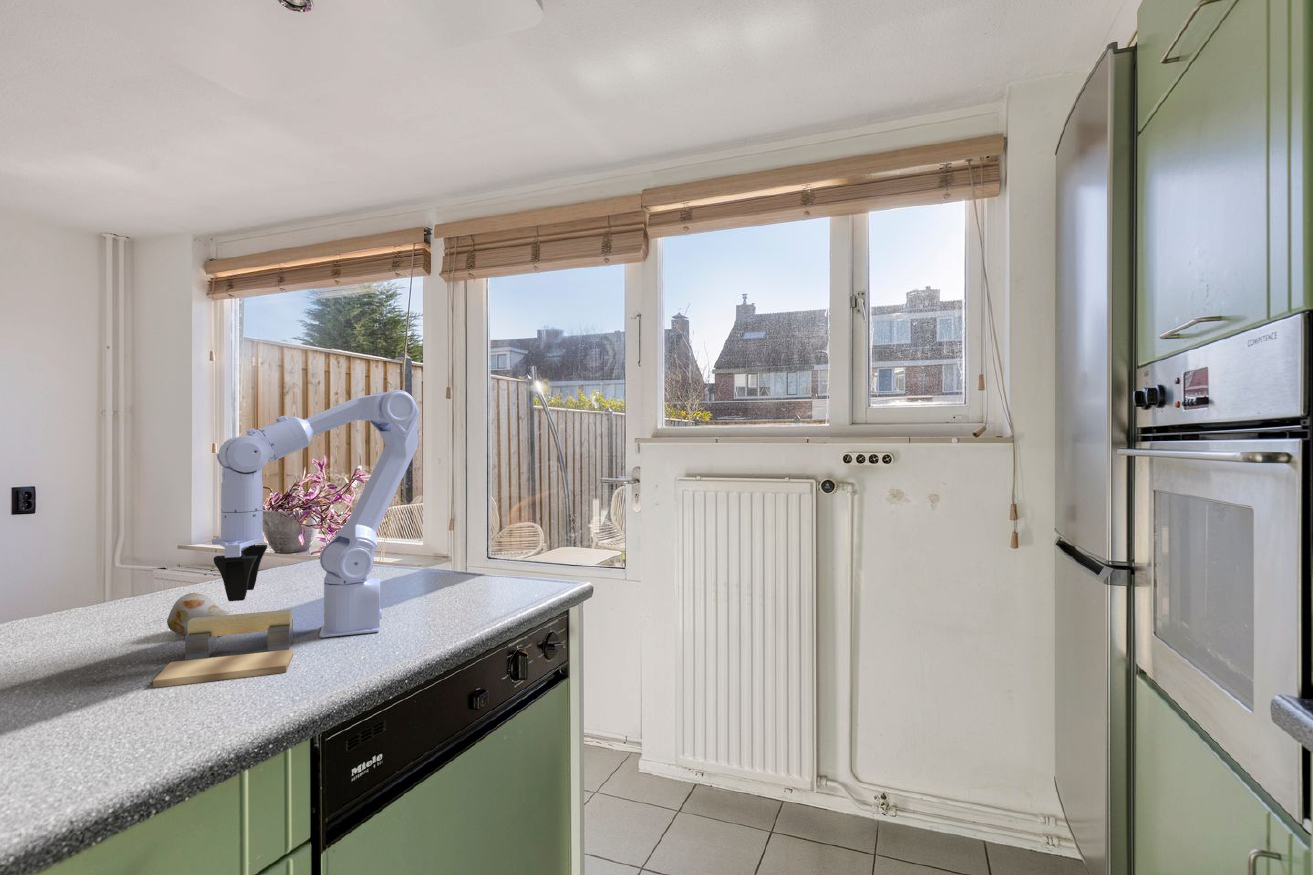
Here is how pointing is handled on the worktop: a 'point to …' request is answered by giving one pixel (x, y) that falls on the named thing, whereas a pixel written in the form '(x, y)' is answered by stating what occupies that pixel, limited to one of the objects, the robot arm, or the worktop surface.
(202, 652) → the post
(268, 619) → the rail
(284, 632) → the post
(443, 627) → the worktop surface
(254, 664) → the board
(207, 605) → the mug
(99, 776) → the worktop surface
